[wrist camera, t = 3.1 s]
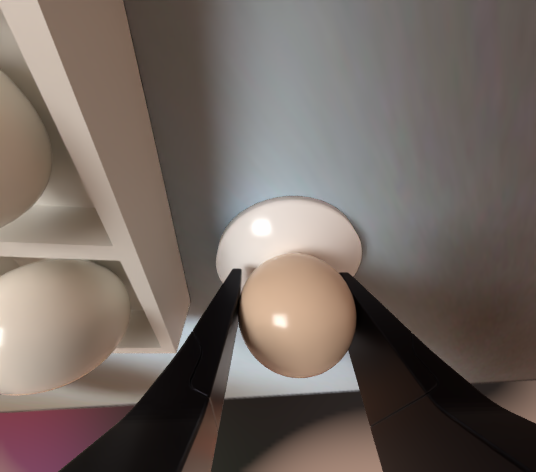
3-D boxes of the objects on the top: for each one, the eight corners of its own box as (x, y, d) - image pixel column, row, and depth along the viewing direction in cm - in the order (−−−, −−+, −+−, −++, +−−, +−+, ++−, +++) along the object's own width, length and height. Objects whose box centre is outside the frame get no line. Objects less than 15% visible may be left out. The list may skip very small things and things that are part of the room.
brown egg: (322, 297, 12) (349, 395, 8) (240, 295, 12) (232, 397, 8) (349, 233, 9) (407, 340, 6) (242, 227, 9) (231, 338, 5)
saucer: (333, 298, 14) (337, 309, 13) (221, 296, 13) (219, 307, 12) (378, 201, 9) (387, 211, 9) (213, 190, 9) (210, 200, 8)
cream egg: (158, 303, 12) (113, 411, 8) (65, 301, 11) (-26, 414, 8) (132, 236, 9) (44, 358, 5) (7, 231, 8) (-186, 359, 5)
